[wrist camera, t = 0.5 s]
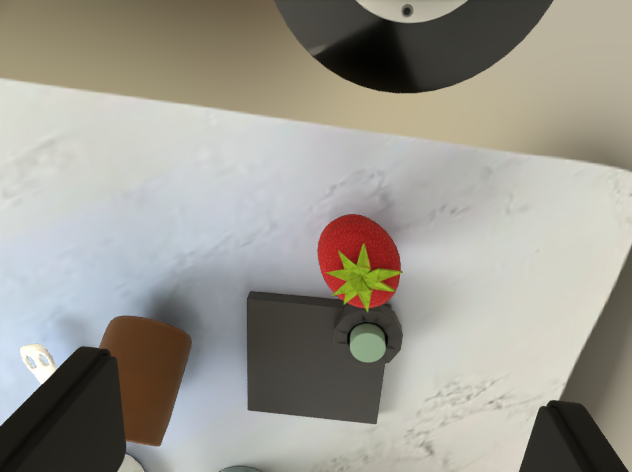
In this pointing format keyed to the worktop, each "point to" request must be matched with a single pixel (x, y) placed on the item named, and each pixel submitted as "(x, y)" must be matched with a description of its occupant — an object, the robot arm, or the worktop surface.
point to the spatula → (129, 467)
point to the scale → (314, 357)
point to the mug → (147, 373)
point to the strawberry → (359, 261)
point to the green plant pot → (240, 469)
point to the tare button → (367, 342)
